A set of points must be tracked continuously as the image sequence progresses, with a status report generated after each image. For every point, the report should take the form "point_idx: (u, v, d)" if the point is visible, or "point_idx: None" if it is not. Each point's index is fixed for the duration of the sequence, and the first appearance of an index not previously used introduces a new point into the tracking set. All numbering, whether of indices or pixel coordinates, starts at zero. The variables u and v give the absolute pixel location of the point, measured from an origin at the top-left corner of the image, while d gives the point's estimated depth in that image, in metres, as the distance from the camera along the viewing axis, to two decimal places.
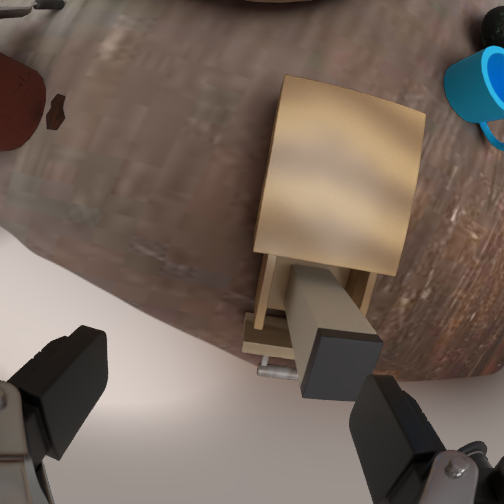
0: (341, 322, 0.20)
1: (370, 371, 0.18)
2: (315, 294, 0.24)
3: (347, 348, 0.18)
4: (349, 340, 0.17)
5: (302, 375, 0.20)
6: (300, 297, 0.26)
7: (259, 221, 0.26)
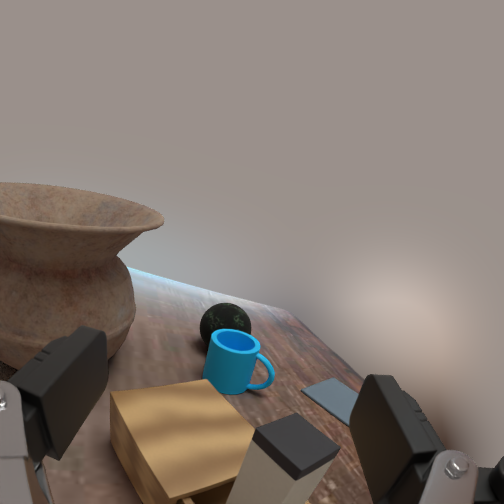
0: None
1: (314, 428, 0.20)
2: None
3: (280, 425, 0.20)
4: (275, 421, 0.20)
5: (285, 476, 0.16)
6: (235, 498, 0.20)
7: (156, 476, 0.21)
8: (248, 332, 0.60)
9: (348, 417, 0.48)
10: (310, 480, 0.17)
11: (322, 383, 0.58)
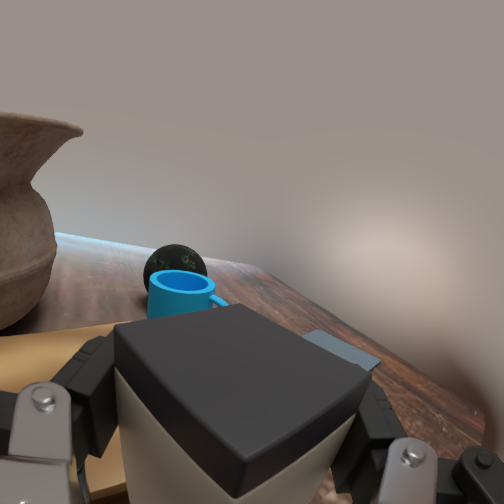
0: None
1: (288, 332, 0.08)
2: None
3: (189, 323, 0.08)
4: (177, 315, 0.08)
5: (202, 480, 0.05)
6: None
7: None
8: None
9: None
10: (296, 485, 0.06)
11: (305, 336, 0.47)
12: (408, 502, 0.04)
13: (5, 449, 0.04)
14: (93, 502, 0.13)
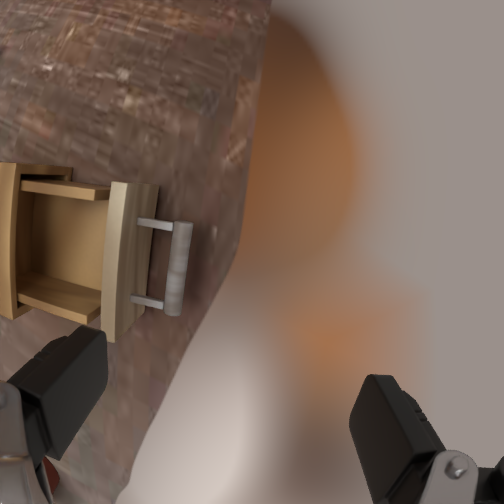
0: None
1: None
2: None
3: None
4: None
5: None
6: None
7: None
8: None
9: None
10: None
11: None
12: None
13: None
14: (28, 255, 0.26)
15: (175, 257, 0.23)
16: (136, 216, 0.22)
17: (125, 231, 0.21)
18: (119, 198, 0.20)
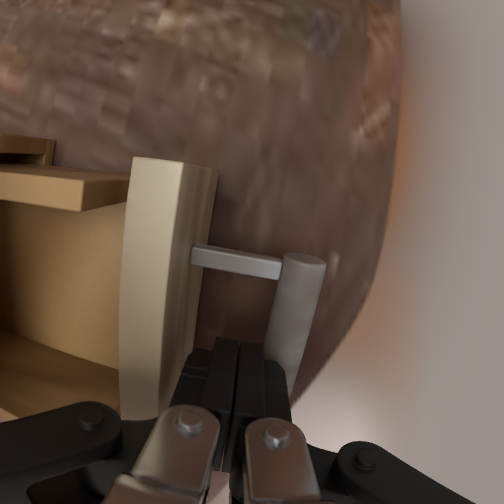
0: None
1: None
2: None
3: None
4: None
5: None
6: None
7: None
8: None
9: None
10: None
11: None
12: (286, 491, 0.04)
13: None
14: None
15: (287, 339, 0.10)
16: (189, 246, 0.09)
17: (172, 294, 0.08)
18: (158, 207, 0.07)
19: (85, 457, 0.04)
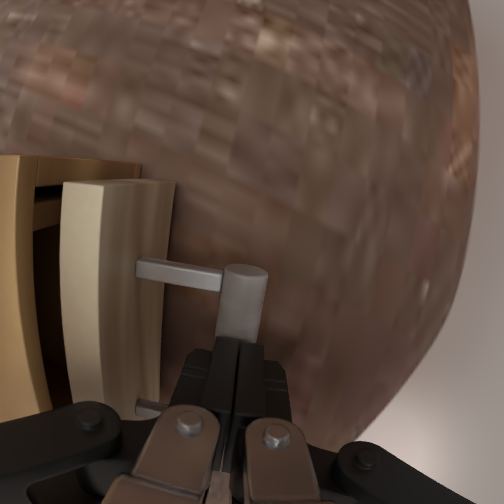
0: None
1: None
2: None
3: None
4: None
5: None
6: None
7: None
8: None
9: None
10: None
11: None
12: (286, 491, 0.04)
13: None
14: None
15: None
16: (132, 260, 0.10)
17: (109, 307, 0.08)
18: (85, 228, 0.07)
19: (85, 457, 0.04)
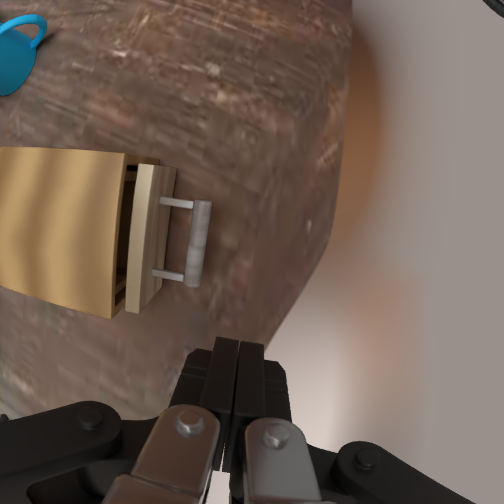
0: None
1: None
2: None
3: None
4: None
5: None
6: None
7: (84, 311, 0.23)
8: None
9: None
10: None
11: None
12: (286, 491, 0.04)
13: None
14: None
15: (196, 232, 0.25)
16: (158, 196, 0.24)
17: (150, 209, 0.23)
18: (146, 178, 0.22)
19: (85, 457, 0.04)
